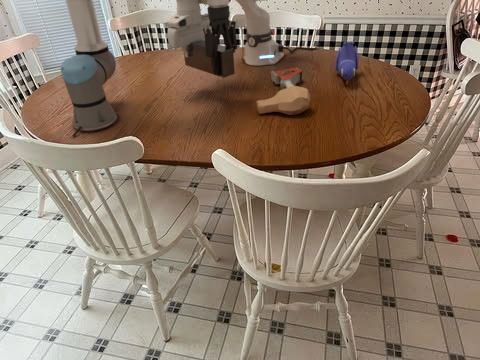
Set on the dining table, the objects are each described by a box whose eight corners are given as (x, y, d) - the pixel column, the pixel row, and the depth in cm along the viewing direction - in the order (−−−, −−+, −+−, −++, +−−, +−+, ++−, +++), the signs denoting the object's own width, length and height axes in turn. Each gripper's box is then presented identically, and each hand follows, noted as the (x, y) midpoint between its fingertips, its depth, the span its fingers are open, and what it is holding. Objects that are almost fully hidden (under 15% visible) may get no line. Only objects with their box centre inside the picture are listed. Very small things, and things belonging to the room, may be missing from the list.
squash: (314, 116, 128) (313, 95, 122) (259, 125, 130) (256, 105, 124) (308, 99, 136) (307, 78, 129) (257, 108, 138) (253, 88, 131)
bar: (234, 73, 134) (233, 48, 129) (223, 78, 131) (221, 51, 126) (196, 61, 149) (193, 38, 143) (185, 65, 146) (181, 41, 140)
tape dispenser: (295, 102, 142) (315, 82, 154) (296, 90, 138) (316, 70, 151) (257, 92, 149) (279, 74, 162) (257, 81, 146) (279, 63, 158)
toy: (333, 78, 167) (335, 88, 145) (335, 40, 160) (337, 44, 138) (355, 78, 165) (360, 87, 142) (358, 39, 158) (364, 43, 136)
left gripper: (230, -1, 128) (234, 63, 142) (189, 9, 118) (197, 77, 132) (245, 1, 124) (248, 67, 137) (203, 11, 113) (210, 81, 127)
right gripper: (205, 11, 142) (208, 47, 150) (162, 21, 131) (169, 59, 139) (215, 13, 138) (218, 49, 146) (172, 24, 127) (178, 62, 135)
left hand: (223, 72), depth 134 cm, fingers open, 6 cm apart
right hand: (194, 54), depth 143 cm, fingers closed on bar, 5 cm apart
